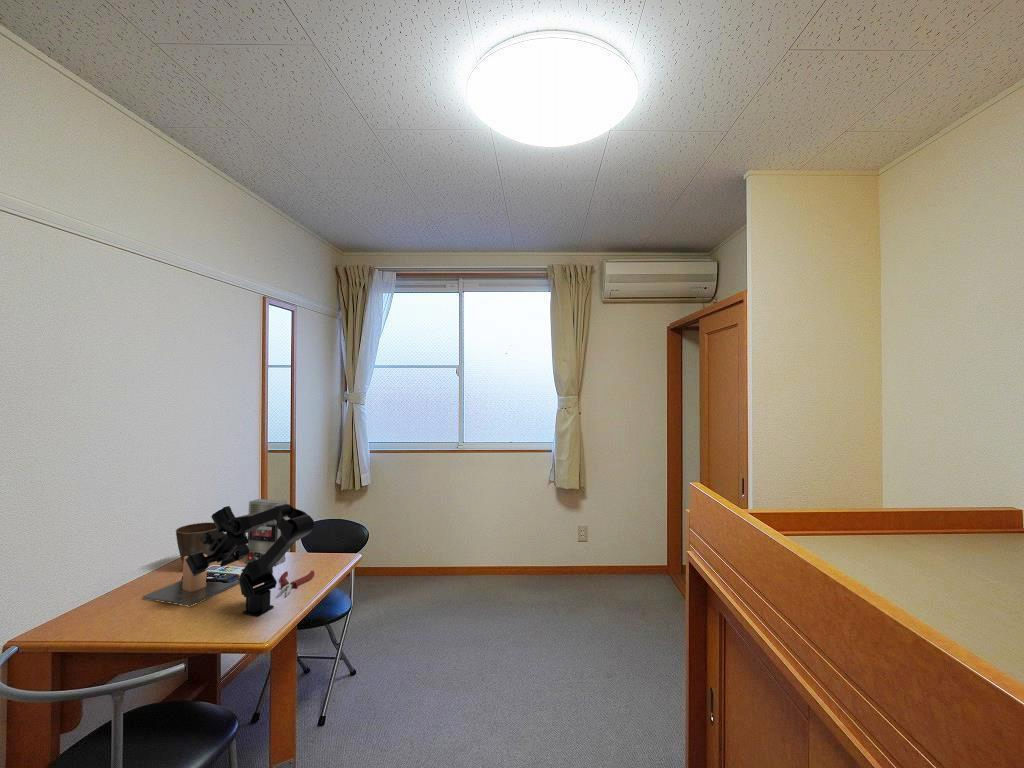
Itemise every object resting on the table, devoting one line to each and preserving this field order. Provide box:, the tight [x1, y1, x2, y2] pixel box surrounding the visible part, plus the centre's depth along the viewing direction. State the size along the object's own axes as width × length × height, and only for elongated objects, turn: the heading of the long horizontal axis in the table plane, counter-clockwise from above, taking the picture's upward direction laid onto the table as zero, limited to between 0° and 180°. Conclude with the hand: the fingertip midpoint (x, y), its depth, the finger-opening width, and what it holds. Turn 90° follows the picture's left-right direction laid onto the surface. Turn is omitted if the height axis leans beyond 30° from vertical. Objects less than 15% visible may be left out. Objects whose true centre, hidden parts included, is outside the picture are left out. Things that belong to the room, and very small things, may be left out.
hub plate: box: [142, 579, 240, 606], centre depth 158 cm, size 20×20×6 cm
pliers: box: [276, 570, 315, 598], centre depth 163 cm, size 12×20×3 cm, turn 9°
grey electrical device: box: [244, 498, 288, 567], centre depth 186 cm, size 14×6×25 cm, turn 82°
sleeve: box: [182, 554, 208, 592], centre depth 158 cm, size 5×5×11 cm
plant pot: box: [175, 522, 217, 567], centre depth 178 cm, size 15×15×16 cm
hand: (207, 570), depth 155 cm, fingers open, 9 cm apart
